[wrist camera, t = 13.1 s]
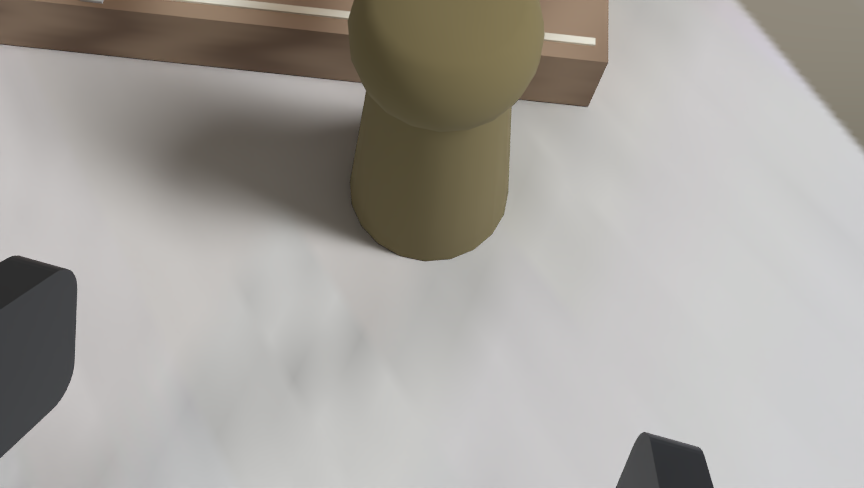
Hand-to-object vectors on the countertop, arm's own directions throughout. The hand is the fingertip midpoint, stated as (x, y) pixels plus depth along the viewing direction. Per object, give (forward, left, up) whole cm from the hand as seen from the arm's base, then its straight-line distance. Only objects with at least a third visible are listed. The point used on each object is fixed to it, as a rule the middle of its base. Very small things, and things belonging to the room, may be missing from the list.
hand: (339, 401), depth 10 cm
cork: (-5, +10, -15) cm, 19 cm away
